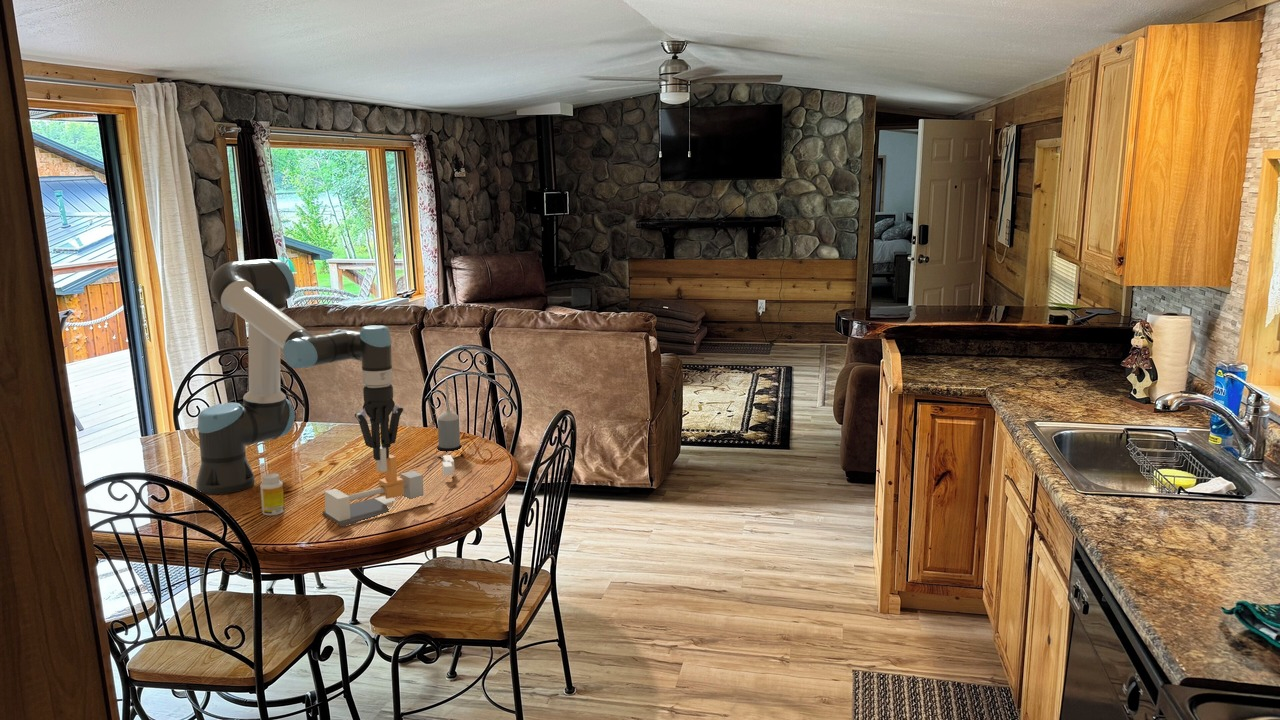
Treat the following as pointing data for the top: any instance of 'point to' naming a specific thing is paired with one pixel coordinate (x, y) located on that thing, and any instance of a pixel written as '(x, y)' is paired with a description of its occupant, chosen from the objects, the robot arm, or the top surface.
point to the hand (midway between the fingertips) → (382, 470)
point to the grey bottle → (448, 428)
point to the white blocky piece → (447, 465)
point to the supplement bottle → (272, 495)
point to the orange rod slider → (391, 480)
